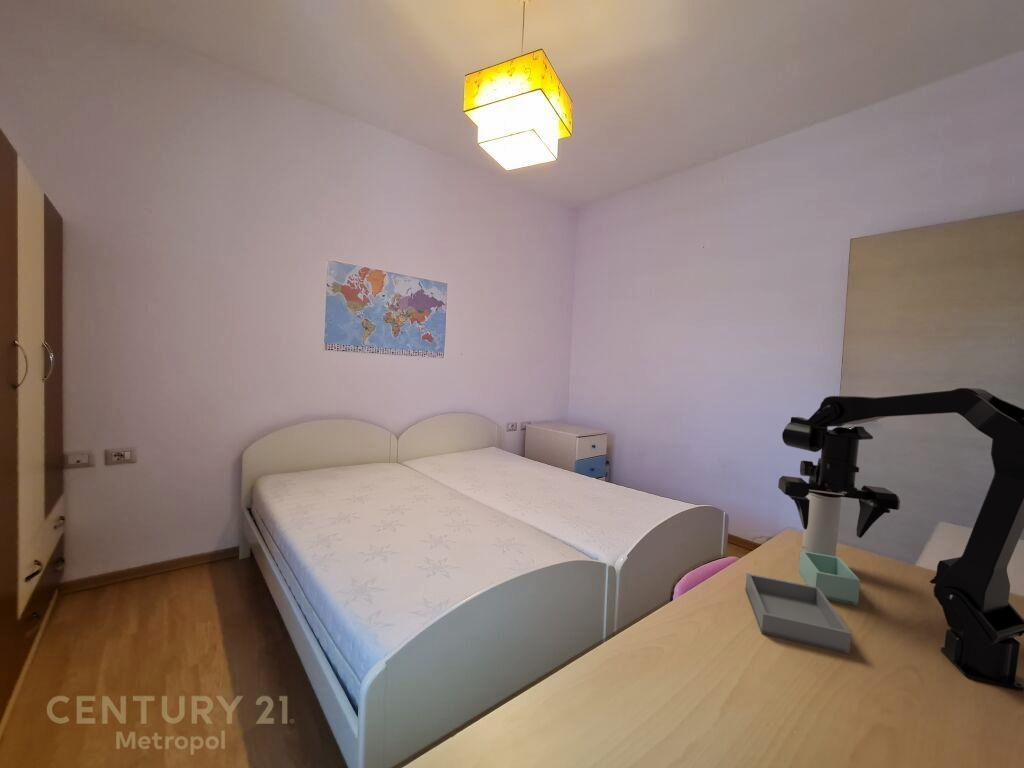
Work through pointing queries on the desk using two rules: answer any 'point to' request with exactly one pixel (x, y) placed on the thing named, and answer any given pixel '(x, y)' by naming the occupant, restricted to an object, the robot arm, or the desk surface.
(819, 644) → the tray
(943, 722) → the desk surface
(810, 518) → the travel mug
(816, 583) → the small tote
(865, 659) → the desk surface
